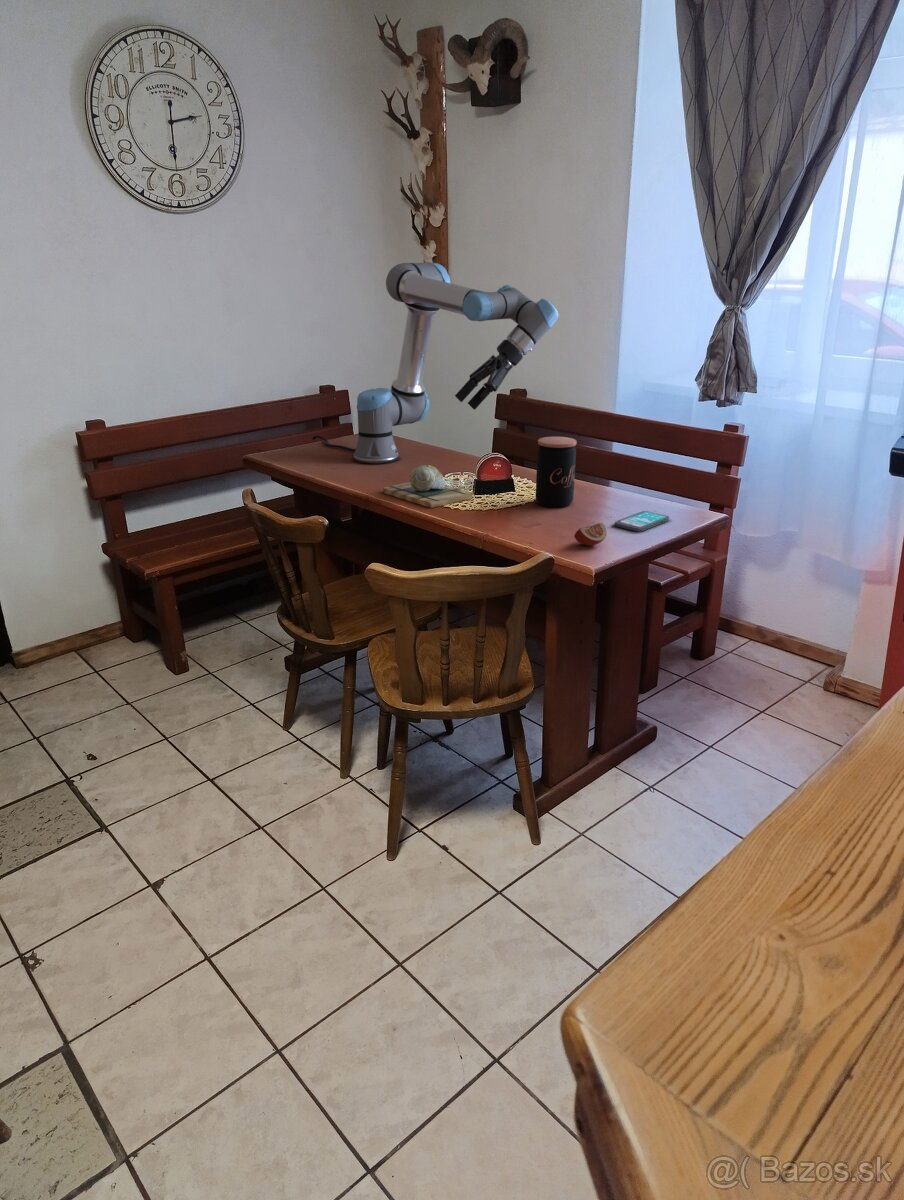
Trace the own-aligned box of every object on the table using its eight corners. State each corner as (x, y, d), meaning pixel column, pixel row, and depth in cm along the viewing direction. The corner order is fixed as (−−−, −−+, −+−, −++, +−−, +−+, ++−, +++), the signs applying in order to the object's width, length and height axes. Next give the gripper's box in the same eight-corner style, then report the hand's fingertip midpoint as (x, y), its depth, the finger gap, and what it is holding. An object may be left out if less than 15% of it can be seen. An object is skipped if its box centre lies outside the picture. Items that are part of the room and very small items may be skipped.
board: (383, 492, 242) (382, 487, 241) (423, 483, 252) (423, 478, 251) (431, 508, 227) (431, 502, 226) (472, 497, 237) (472, 492, 236)
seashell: (446, 481, 244) (446, 455, 237) (443, 503, 238) (443, 478, 231) (412, 479, 245) (411, 453, 237) (408, 501, 239) (407, 475, 231)
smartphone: (612, 521, 212) (644, 509, 221) (612, 525, 212) (643, 513, 222) (640, 528, 206) (671, 516, 216) (640, 532, 206) (671, 519, 216)
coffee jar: (548, 510, 225) (551, 445, 218) (528, 501, 234) (530, 438, 227) (580, 505, 229) (584, 442, 222) (559, 496, 238) (562, 435, 231)
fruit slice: (591, 538, 203) (592, 518, 201) (612, 544, 198) (613, 525, 196) (568, 544, 198) (569, 525, 196) (589, 552, 193) (590, 532, 191)
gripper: (538, 361, 225) (485, 419, 227) (509, 352, 247) (461, 404, 249) (520, 342, 221) (467, 400, 224) (492, 334, 243) (444, 387, 246)
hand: (464, 402), depth 236 cm, fingers open, 13 cm apart
